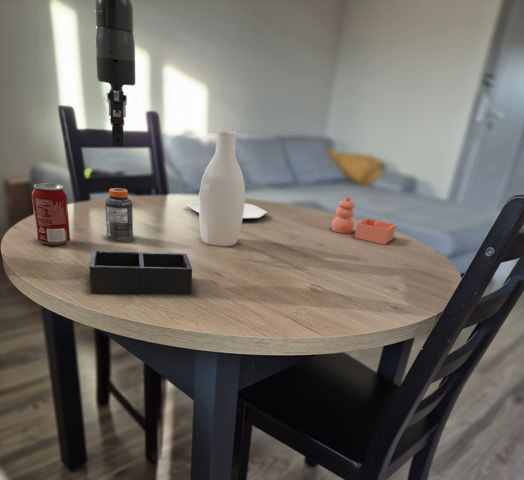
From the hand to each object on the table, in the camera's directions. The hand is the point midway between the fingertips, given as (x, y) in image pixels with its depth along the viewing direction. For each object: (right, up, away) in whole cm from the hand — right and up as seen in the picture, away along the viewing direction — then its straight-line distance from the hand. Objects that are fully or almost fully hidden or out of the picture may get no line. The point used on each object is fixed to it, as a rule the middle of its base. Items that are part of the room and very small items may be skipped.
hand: (118, 143), depth 104 cm
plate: (+20, -2, +46) cm, 50 cm away
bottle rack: (+9, -33, -15) cm, 37 cm away
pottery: (+61, -10, +40) cm, 73 cm away
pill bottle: (-2, -19, +10) cm, 21 cm away
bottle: (+20, -18, +17) cm, 32 cm away
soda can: (-15, -21, +2) cm, 26 cm away
